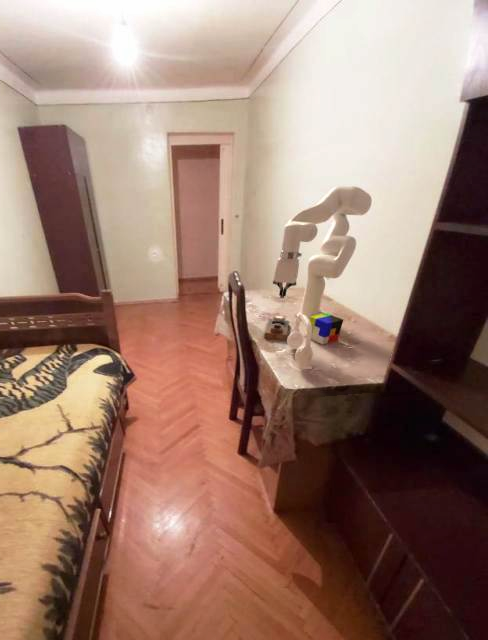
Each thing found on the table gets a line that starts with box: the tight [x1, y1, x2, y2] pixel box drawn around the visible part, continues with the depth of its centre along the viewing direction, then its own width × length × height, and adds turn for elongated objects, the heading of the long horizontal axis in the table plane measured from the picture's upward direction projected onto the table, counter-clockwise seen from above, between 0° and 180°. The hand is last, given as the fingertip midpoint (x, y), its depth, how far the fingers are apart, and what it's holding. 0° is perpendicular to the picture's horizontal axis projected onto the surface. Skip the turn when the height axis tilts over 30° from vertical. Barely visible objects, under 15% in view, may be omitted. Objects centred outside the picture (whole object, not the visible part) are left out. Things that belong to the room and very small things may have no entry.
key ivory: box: [275, 315, 284, 321], centre depth 160 cm, size 3×3×2 cm
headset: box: [286, 314, 314, 370], centre depth 127 cm, size 20×7×18 cm, turn 176°
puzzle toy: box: [305, 312, 344, 345], centre depth 147 cm, size 10×10×10 cm
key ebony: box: [274, 323, 281, 328], centre depth 150 cm, size 3×3×2 cm
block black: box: [267, 316, 290, 328], centre depth 161 cm, size 10×10×4 cm
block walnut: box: [264, 324, 289, 342], centre depth 152 cm, size 10×10×4 cm
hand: (282, 297), depth 150 cm, fingers closed
